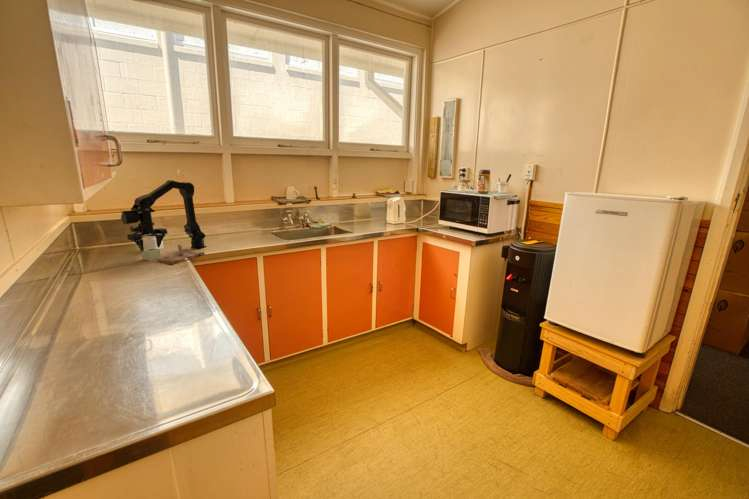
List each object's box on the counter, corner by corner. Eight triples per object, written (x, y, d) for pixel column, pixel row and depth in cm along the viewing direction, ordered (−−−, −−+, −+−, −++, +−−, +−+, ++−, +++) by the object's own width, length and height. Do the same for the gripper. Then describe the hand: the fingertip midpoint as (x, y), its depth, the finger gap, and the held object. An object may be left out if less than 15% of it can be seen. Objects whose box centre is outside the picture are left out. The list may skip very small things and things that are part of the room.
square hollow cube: (153, 256, 194) (152, 247, 193) (160, 257, 192) (159, 249, 191) (142, 259, 189) (141, 250, 187) (150, 260, 187) (148, 251, 185)
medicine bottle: (164, 247, 211) (161, 228, 208) (155, 251, 204) (152, 231, 201) (153, 247, 212) (150, 228, 208) (144, 250, 205) (141, 230, 201)
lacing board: (189, 251, 204) (187, 239, 202) (204, 254, 199) (203, 241, 197) (157, 261, 186) (155, 247, 184) (173, 264, 182) (171, 250, 180)
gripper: (152, 217, 196) (156, 243, 200) (117, 223, 179) (123, 251, 184) (166, 218, 192) (170, 245, 196) (132, 225, 175) (137, 254, 180)
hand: (150, 249), depth 189 cm, fingers open, 9 cm apart
